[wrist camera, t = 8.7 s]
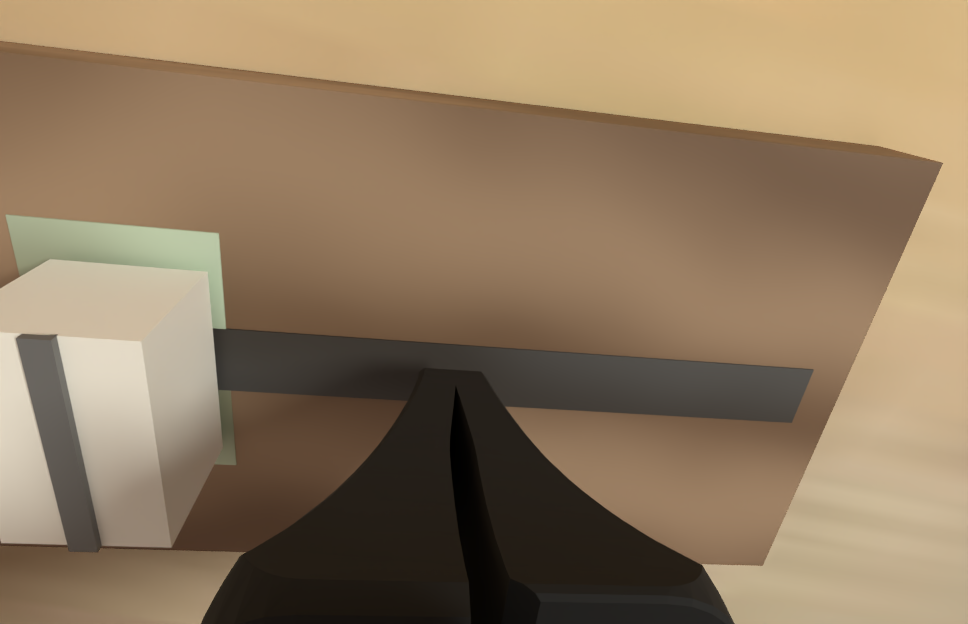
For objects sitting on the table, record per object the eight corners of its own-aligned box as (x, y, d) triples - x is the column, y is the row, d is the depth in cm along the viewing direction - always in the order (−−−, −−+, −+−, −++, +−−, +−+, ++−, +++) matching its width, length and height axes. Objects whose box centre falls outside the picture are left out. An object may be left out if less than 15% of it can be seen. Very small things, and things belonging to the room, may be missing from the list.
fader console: (732, 515, 19) (763, 567, 17) (10, 488, 17) (-43, 545, 15) (878, 146, 14) (944, 163, 12) (-125, 26, 12) (-229, 25, 10)
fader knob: (222, 447, 14) (168, 553, 11) (88, 441, 14) (-5, 549, 11) (207, 271, 12) (137, 345, 9) (49, 259, 12) (-75, 332, 9)
